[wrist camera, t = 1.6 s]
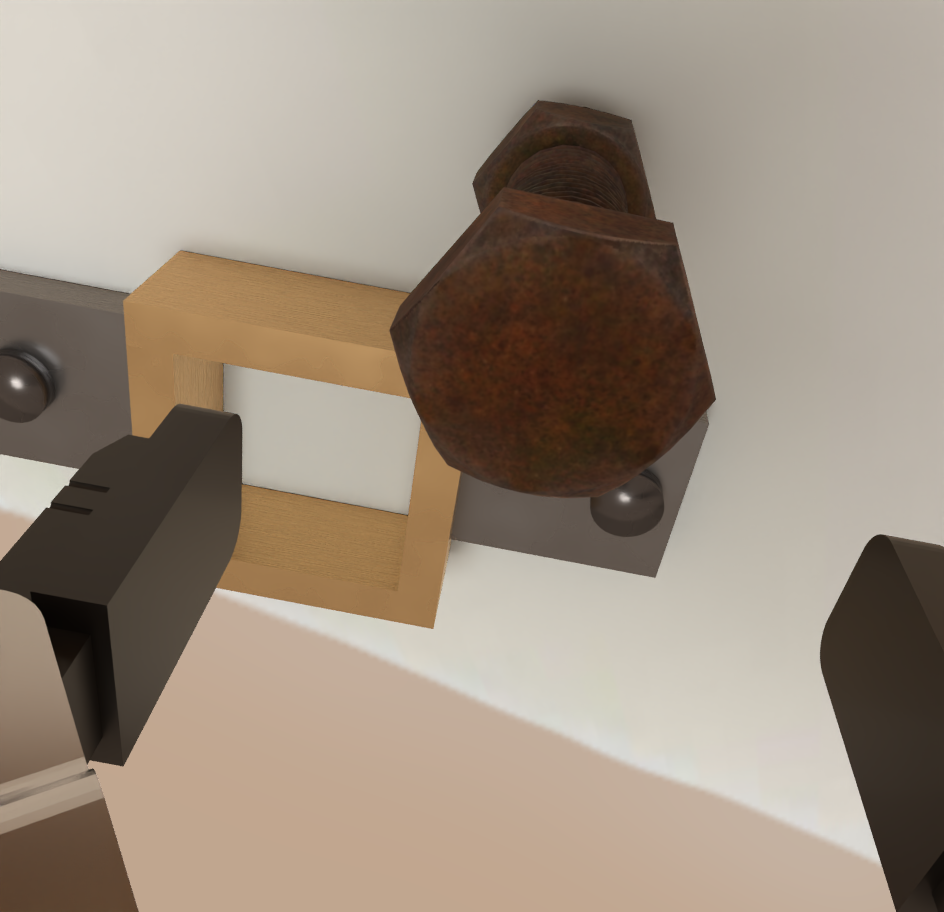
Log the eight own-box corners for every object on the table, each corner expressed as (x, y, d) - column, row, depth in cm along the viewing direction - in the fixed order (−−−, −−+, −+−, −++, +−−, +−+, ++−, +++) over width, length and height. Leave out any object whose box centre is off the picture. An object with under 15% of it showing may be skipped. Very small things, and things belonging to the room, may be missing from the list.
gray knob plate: (703, 400, 32) (711, 435, 30) (652, 551, 35) (656, 591, 33) (455, 354, 32) (446, 386, 30) (431, 510, 36) (421, 547, 34)
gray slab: (195, 306, 32) (168, 333, 30) (198, 466, 36) (175, 500, 34) (-23, 265, 32) (-64, 290, 30) (4, 429, 36) (-31, 461, 34)
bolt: (670, 218, 28) (736, 479, 16) (520, 264, 30) (470, 538, 17) (623, 28, 26) (658, 162, 13) (460, 88, 27) (348, 261, 14)
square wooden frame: (492, 308, 31) (478, 367, 27) (449, 552, 37) (433, 628, 33) (180, 250, 31) (122, 300, 27) (187, 503, 37) (142, 573, 33)
